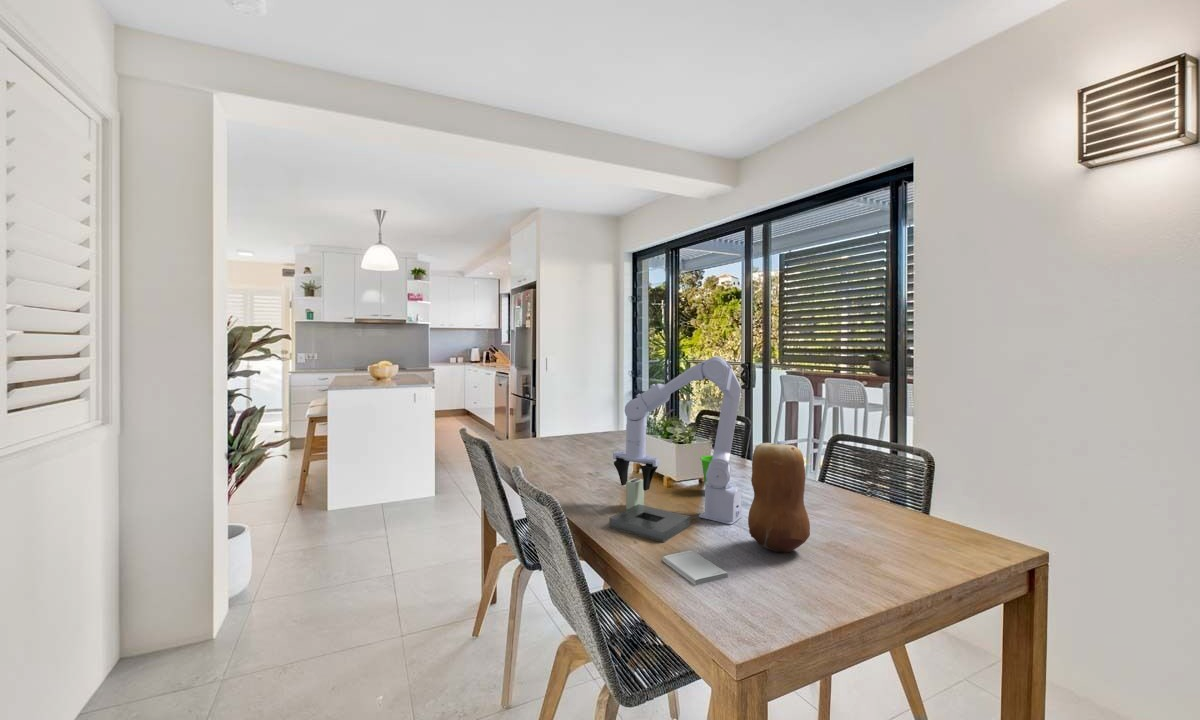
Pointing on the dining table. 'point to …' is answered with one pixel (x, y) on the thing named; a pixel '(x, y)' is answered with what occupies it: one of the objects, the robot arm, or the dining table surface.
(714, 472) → the robot arm
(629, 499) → the keyed block
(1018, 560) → the dining table surface
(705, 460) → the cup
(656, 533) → the key plate
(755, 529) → the butternut squash
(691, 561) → the hard drive
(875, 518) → the dining table surface
